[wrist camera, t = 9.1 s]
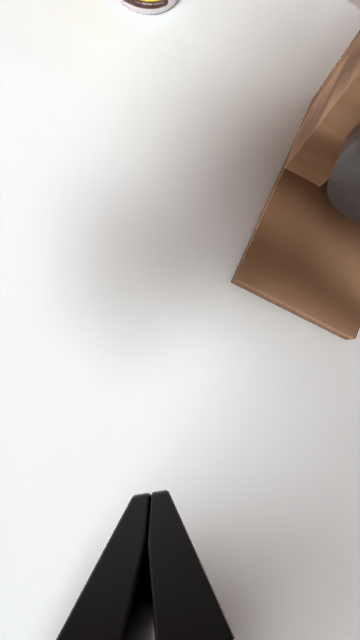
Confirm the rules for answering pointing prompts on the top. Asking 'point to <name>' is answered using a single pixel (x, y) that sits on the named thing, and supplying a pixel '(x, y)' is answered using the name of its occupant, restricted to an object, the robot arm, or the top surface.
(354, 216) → the knob
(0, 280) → the top surface
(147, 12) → the supplement bottle
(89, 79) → the top surface
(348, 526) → the top surface
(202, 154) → the top surface
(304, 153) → the mount
